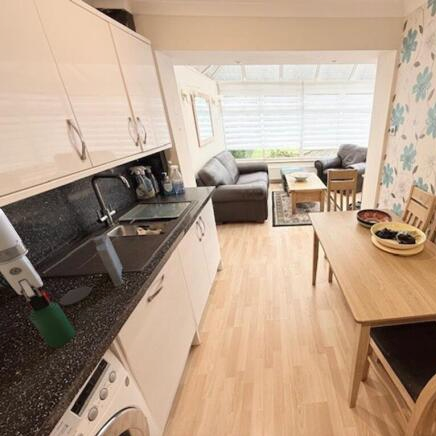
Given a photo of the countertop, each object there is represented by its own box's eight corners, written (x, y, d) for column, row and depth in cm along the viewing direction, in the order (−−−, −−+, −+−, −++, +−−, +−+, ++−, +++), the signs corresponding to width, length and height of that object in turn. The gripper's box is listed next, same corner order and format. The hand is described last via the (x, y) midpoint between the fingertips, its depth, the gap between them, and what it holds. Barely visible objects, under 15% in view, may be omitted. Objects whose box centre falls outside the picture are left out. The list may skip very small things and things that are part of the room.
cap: (52, 296, 72) (47, 289, 71) (46, 305, 69) (41, 297, 68) (35, 301, 71) (29, 293, 70) (28, 310, 68) (22, 302, 66)
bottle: (43, 347, 74) (12, 305, 66) (63, 329, 79) (36, 289, 72) (62, 348, 73) (32, 305, 65) (80, 330, 79) (55, 289, 71)
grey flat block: (123, 284, 99) (104, 243, 90) (112, 288, 97) (91, 247, 88) (122, 266, 111) (105, 228, 102) (112, 269, 109) (93, 231, 100)
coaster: (53, 305, 90) (52, 304, 90) (76, 287, 99) (76, 286, 99) (76, 306, 89) (75, 305, 89) (98, 287, 98) (97, 286, 98)
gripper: (29, 255, 60) (64, 309, 68) (21, 238, 70) (52, 286, 77) (-15, 271, 55) (27, 327, 63) (-18, 249, 64) (19, 300, 72)
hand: (40, 304), depth 70 cm, fingers closed on cap, 3 cm apart
